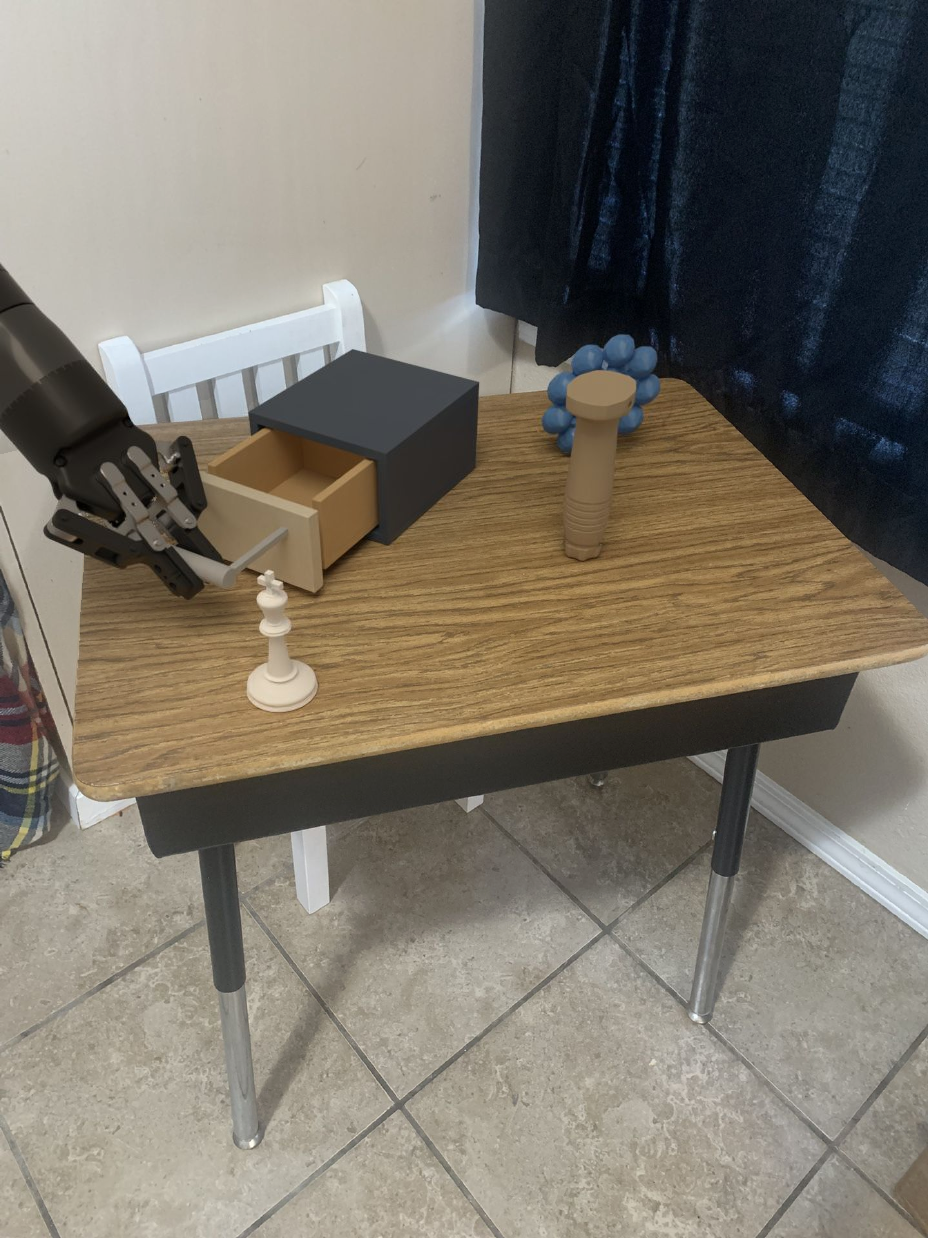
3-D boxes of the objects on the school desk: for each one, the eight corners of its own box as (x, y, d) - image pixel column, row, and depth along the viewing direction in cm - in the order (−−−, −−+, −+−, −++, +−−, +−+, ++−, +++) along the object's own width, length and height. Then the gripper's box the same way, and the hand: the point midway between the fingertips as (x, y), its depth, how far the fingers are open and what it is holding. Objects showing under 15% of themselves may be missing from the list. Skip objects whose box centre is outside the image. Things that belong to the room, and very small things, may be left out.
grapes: (634, 427, 102) (651, 314, 94) (659, 458, 97) (679, 341, 89) (526, 436, 99) (535, 321, 92) (546, 469, 94) (557, 350, 87)
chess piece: (273, 657, 71) (259, 543, 65) (331, 678, 70) (322, 563, 63) (232, 698, 68) (213, 581, 62) (292, 721, 66) (279, 604, 60)
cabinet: (388, 545, 83) (386, 453, 78) (258, 501, 88) (247, 411, 83) (476, 467, 94) (479, 381, 89) (356, 431, 99) (352, 348, 94)
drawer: (251, 648, 70) (240, 570, 66) (120, 594, 75) (102, 518, 71) (412, 508, 86) (411, 437, 82) (295, 470, 91) (289, 401, 86)
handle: (622, 542, 84) (647, 379, 75) (591, 579, 80) (614, 411, 71) (571, 526, 86) (590, 365, 77) (538, 561, 82) (554, 395, 73)
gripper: (-27, 402, 60) (163, 620, 63) (133, 327, 69) (291, 519, 72) (-58, 458, 65) (118, 656, 68) (94, 380, 75) (243, 558, 78)
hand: (206, 585), depth 70 cm, fingers closed on drawer
